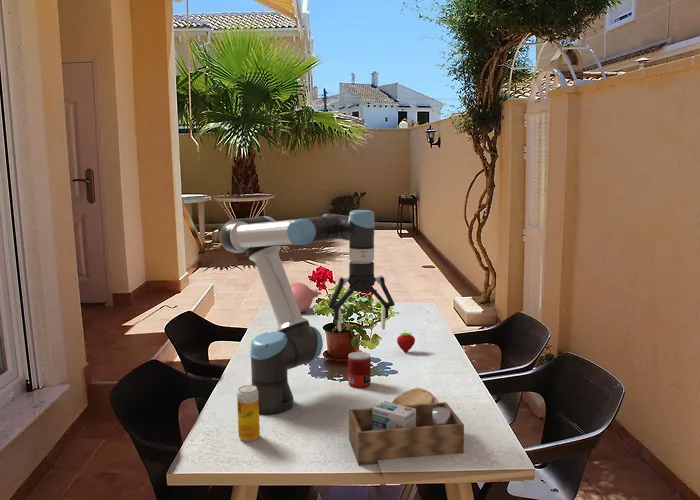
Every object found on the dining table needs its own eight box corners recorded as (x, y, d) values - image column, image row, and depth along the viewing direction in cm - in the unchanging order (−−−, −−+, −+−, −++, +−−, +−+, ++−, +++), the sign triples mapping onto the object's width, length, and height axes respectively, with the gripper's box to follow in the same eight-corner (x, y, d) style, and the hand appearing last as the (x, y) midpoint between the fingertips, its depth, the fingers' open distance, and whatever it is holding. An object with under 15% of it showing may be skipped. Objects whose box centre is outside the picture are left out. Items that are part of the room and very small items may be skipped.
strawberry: (416, 354, 260) (416, 330, 259) (398, 355, 259) (398, 331, 258) (413, 350, 266) (413, 326, 264) (395, 350, 265) (395, 327, 264)
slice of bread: (425, 392, 221) (426, 382, 220) (448, 412, 204) (449, 401, 203) (376, 398, 215) (376, 388, 215) (396, 420, 198) (396, 408, 198)
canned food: (368, 389, 223) (368, 359, 221) (346, 387, 225) (346, 357, 223) (372, 381, 231) (372, 352, 229) (350, 380, 232) (350, 351, 230)
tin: (434, 445, 178) (435, 415, 177) (429, 437, 183) (429, 407, 182) (451, 444, 179) (452, 413, 178) (446, 436, 184) (446, 406, 182)
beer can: (234, 437, 186) (232, 388, 184) (251, 431, 191) (250, 383, 188) (246, 444, 182) (245, 394, 180) (264, 437, 186) (262, 388, 184)
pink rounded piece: (323, 315, 324) (322, 285, 322) (283, 316, 321) (282, 286, 319) (320, 307, 339) (320, 279, 337) (282, 309, 337) (281, 280, 334)
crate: (358, 465, 169) (358, 433, 168) (349, 438, 185) (348, 409, 184) (463, 456, 174) (464, 424, 173) (445, 431, 190) (445, 402, 188)
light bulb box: (371, 444, 179) (371, 407, 178) (384, 435, 185) (384, 400, 183) (404, 454, 173) (404, 416, 171) (416, 445, 179) (416, 408, 177)
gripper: (321, 264, 188) (322, 334, 191) (404, 262, 191) (403, 331, 195) (319, 260, 195) (319, 327, 199) (399, 258, 199) (398, 324, 202)
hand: (361, 329), depth 197 cm, fingers open, 13 cm apart
